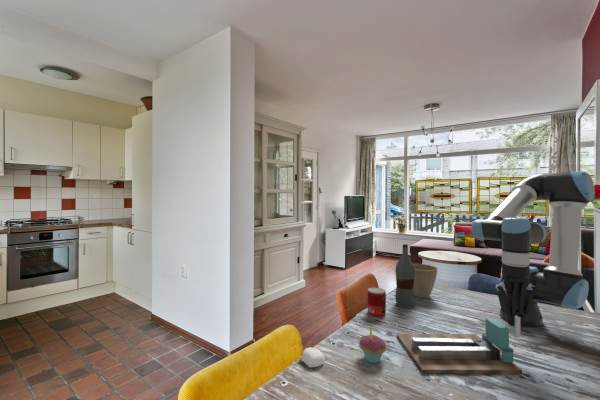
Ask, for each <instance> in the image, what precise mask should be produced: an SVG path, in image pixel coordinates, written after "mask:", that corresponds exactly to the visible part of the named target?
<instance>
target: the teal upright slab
mask: <svg viewBox="0 0 600 400" xmlns="http://www.w3.org/2000/svg"><path fill="white" fill-rule="evenodd" d="M481 339H485V340H487V341H488V342H489V343H491V344H492V345H493V346H494V347H496V348H497V349H498V350H500V351H501V354H502V361H503V362H512V363H514V348H512V347H511V346H510V326H507V325H505V324H504V323H502V322H500V321H499V320H497V319H496V318H485V332H483V333H481Z"/></svg>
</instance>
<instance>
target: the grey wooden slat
mask: <svg viewBox="0 0 600 400" xmlns="http://www.w3.org/2000/svg"><path fill="white" fill-rule="evenodd" d="M419 346H466V347H475V342H474V341H472V340H471V339H451V338H412V347H413V349H414V350H419Z"/></svg>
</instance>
